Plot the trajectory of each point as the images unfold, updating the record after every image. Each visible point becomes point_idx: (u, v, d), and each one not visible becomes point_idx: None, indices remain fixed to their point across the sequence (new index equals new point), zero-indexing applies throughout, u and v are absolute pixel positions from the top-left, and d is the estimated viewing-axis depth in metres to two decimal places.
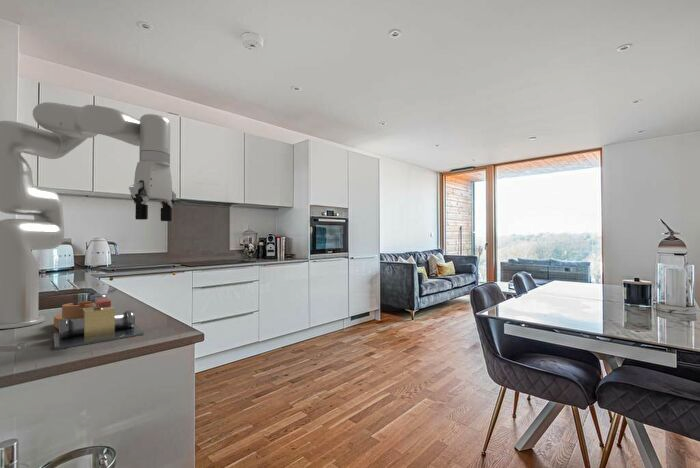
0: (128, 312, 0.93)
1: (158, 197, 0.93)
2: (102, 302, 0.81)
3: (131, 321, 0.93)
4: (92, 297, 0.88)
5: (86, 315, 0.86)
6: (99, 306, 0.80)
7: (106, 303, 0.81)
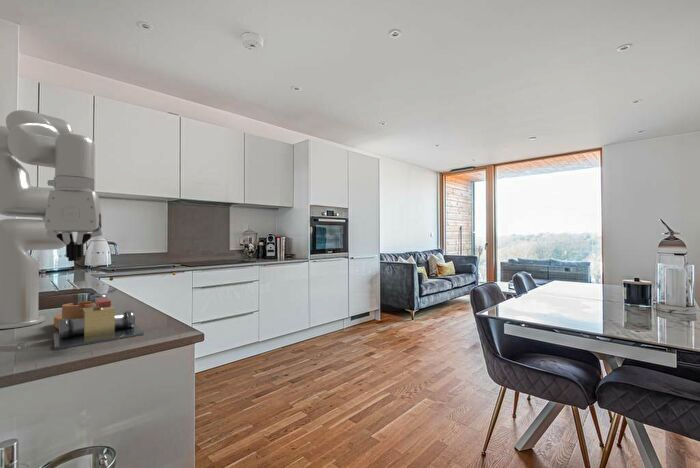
0: (128, 312, 0.93)
1: None
2: (102, 302, 0.81)
3: (131, 321, 0.93)
4: (92, 297, 0.88)
5: (86, 315, 0.86)
6: (99, 306, 0.80)
7: (106, 303, 0.81)
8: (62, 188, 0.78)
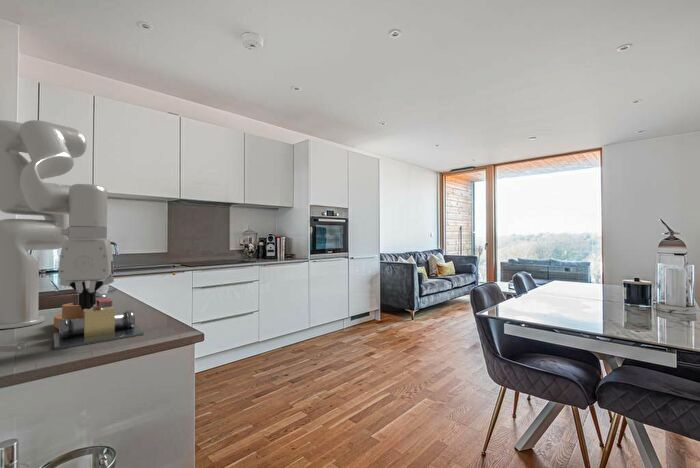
0: (128, 312, 0.93)
1: None
2: (103, 302, 0.81)
3: (131, 321, 0.93)
4: None
5: (86, 315, 0.86)
6: (100, 306, 0.80)
7: (107, 303, 0.81)
8: (75, 239, 0.79)
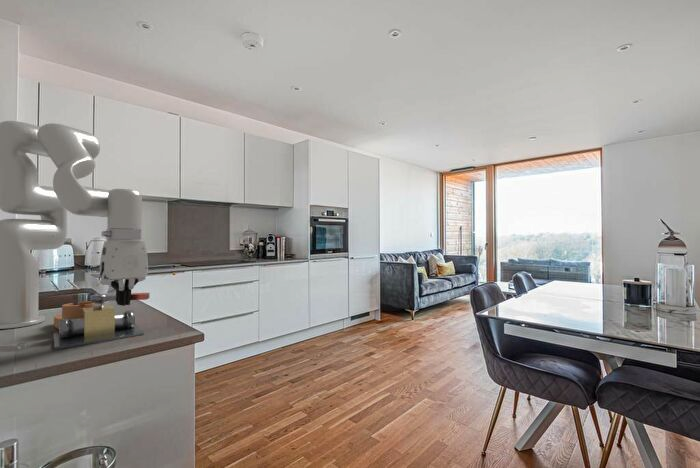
0: (128, 312, 0.93)
1: None
2: (146, 294, 0.92)
3: (131, 321, 0.93)
4: (100, 297, 0.89)
5: (86, 315, 0.86)
6: (146, 298, 0.91)
7: (148, 295, 0.93)
8: (126, 240, 0.85)
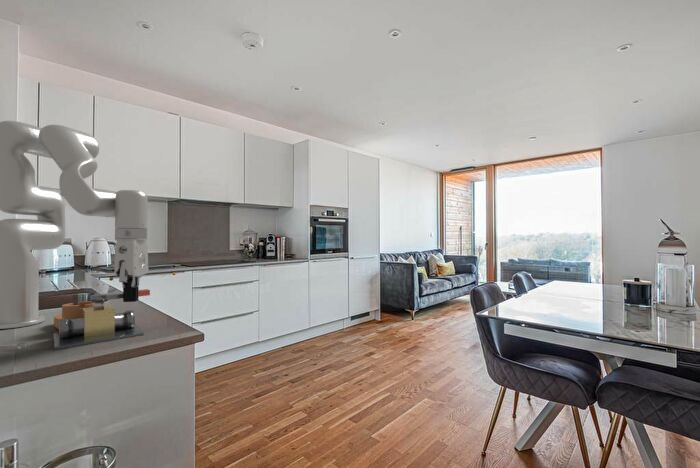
0: (128, 312, 0.93)
1: None
2: None
3: (131, 321, 0.93)
4: (104, 296, 0.90)
5: (86, 315, 0.86)
6: (149, 293, 0.98)
7: None
8: (142, 239, 0.91)
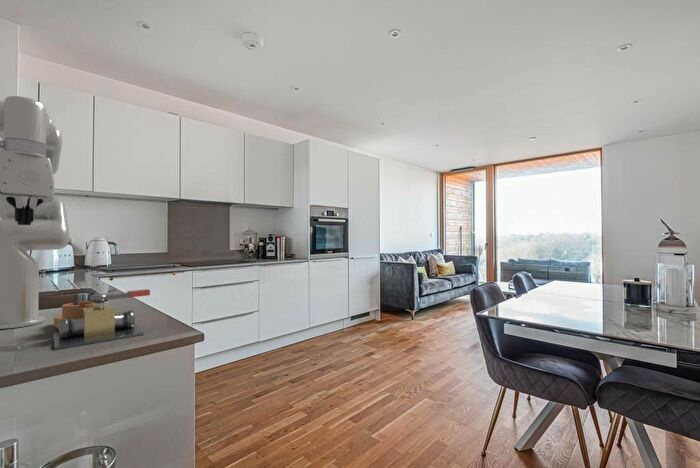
0: (128, 312, 0.93)
1: None
2: None
3: (131, 321, 0.93)
4: (104, 296, 0.90)
5: (86, 315, 0.86)
6: (149, 293, 0.98)
7: None
8: (22, 152, 0.78)
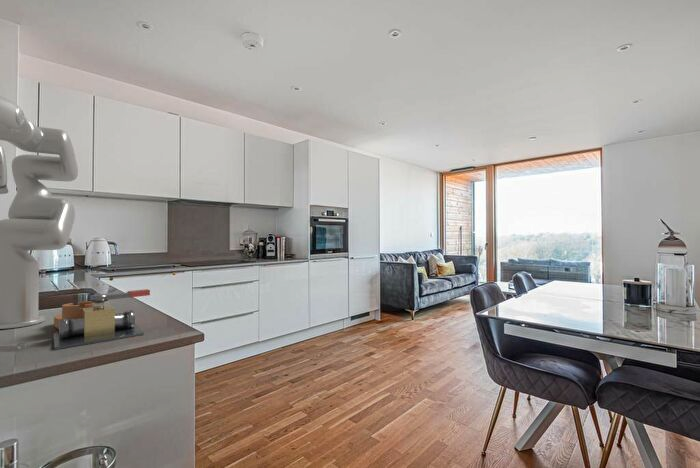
0: (128, 312, 0.93)
1: None
2: None
3: (131, 321, 0.93)
4: (104, 296, 0.90)
5: (86, 315, 0.86)
6: (149, 293, 0.98)
7: None
8: None
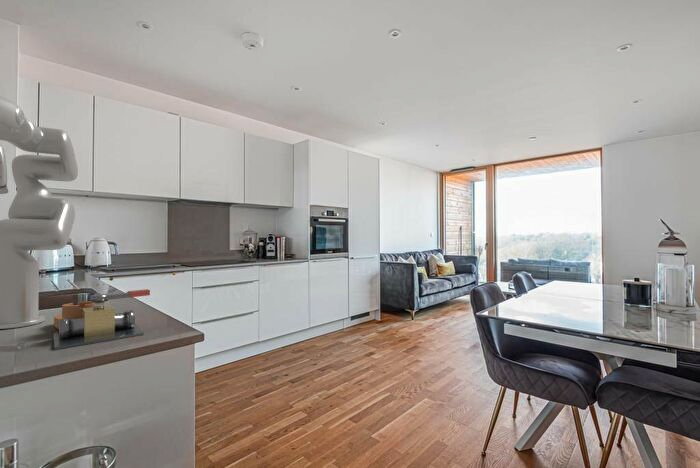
0: (128, 312, 0.93)
1: None
2: None
3: (131, 321, 0.93)
4: (104, 296, 0.90)
5: (86, 315, 0.86)
6: (149, 293, 0.98)
7: None
8: None
